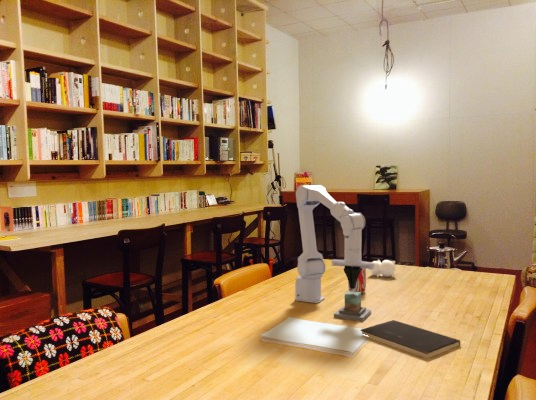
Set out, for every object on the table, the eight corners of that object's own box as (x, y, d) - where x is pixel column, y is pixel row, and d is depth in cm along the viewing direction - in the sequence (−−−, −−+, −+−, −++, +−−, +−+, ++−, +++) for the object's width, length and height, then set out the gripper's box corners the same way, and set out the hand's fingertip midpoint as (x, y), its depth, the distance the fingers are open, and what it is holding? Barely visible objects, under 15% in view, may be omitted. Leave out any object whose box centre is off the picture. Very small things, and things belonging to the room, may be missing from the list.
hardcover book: (426, 361, 125) (426, 352, 125) (360, 337, 143) (360, 329, 143) (460, 347, 135) (460, 339, 134) (394, 326, 153) (394, 319, 153)
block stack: (344, 312, 162) (344, 293, 162) (348, 309, 166) (348, 291, 166) (357, 314, 160) (357, 295, 160) (360, 310, 164) (361, 292, 164)
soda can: (361, 294, 190) (361, 265, 190) (345, 292, 195) (345, 263, 194) (368, 291, 196) (368, 262, 195) (353, 288, 200) (353, 260, 200)
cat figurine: (368, 255, 225) (394, 256, 220) (372, 264, 233) (397, 265, 229) (367, 273, 221) (393, 274, 216) (370, 281, 229) (396, 282, 225)
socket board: (333, 317, 161) (333, 310, 161) (343, 309, 170) (343, 303, 170) (362, 321, 156) (362, 314, 156) (370, 313, 165) (370, 307, 165)
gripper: (328, 249, 162) (328, 288, 162) (370, 252, 155) (370, 293, 156) (335, 246, 168) (335, 284, 169) (376, 248, 161) (376, 288, 162)
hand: (352, 288), depth 163 cm, fingers closed
